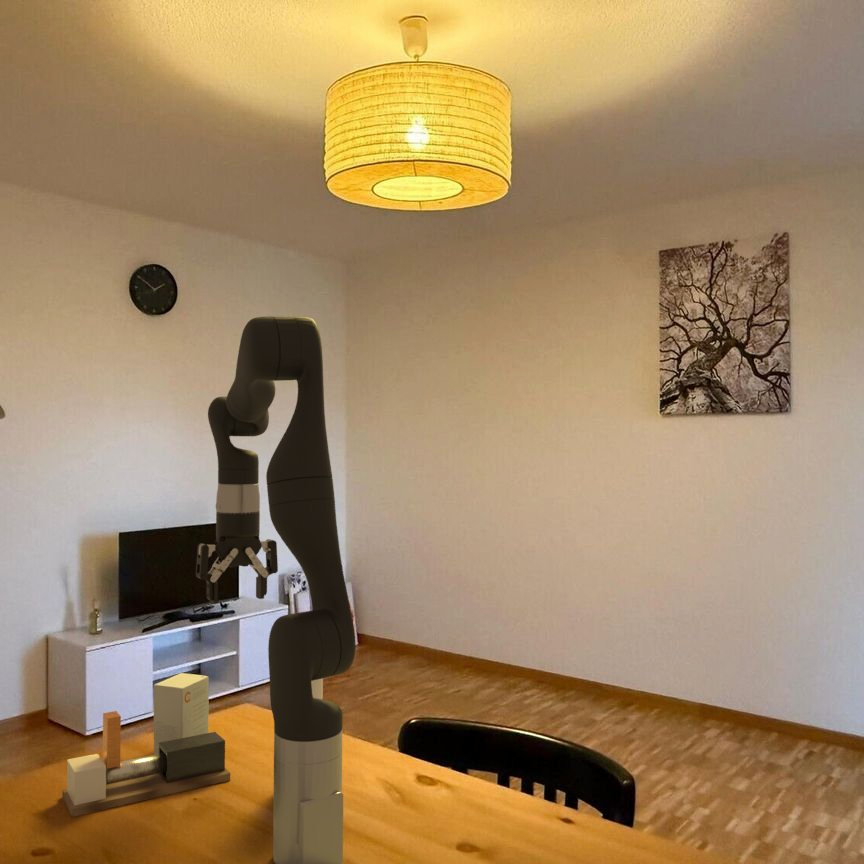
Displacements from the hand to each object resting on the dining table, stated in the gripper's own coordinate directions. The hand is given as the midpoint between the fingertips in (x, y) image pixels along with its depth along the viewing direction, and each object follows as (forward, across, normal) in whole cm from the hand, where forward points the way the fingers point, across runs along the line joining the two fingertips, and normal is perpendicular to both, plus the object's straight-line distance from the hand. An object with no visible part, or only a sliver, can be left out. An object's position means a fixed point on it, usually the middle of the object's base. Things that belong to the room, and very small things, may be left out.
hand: (237, 600), depth 146 cm
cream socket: (+27, -26, -4) cm, 37 cm away
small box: (+28, -7, +9) cm, 31 cm away
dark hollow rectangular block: (+27, -9, -4) cm, 29 cm away
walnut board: (+28, -16, -4) cm, 33 cm away
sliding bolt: (+26, -19, -4) cm, 32 cm away
